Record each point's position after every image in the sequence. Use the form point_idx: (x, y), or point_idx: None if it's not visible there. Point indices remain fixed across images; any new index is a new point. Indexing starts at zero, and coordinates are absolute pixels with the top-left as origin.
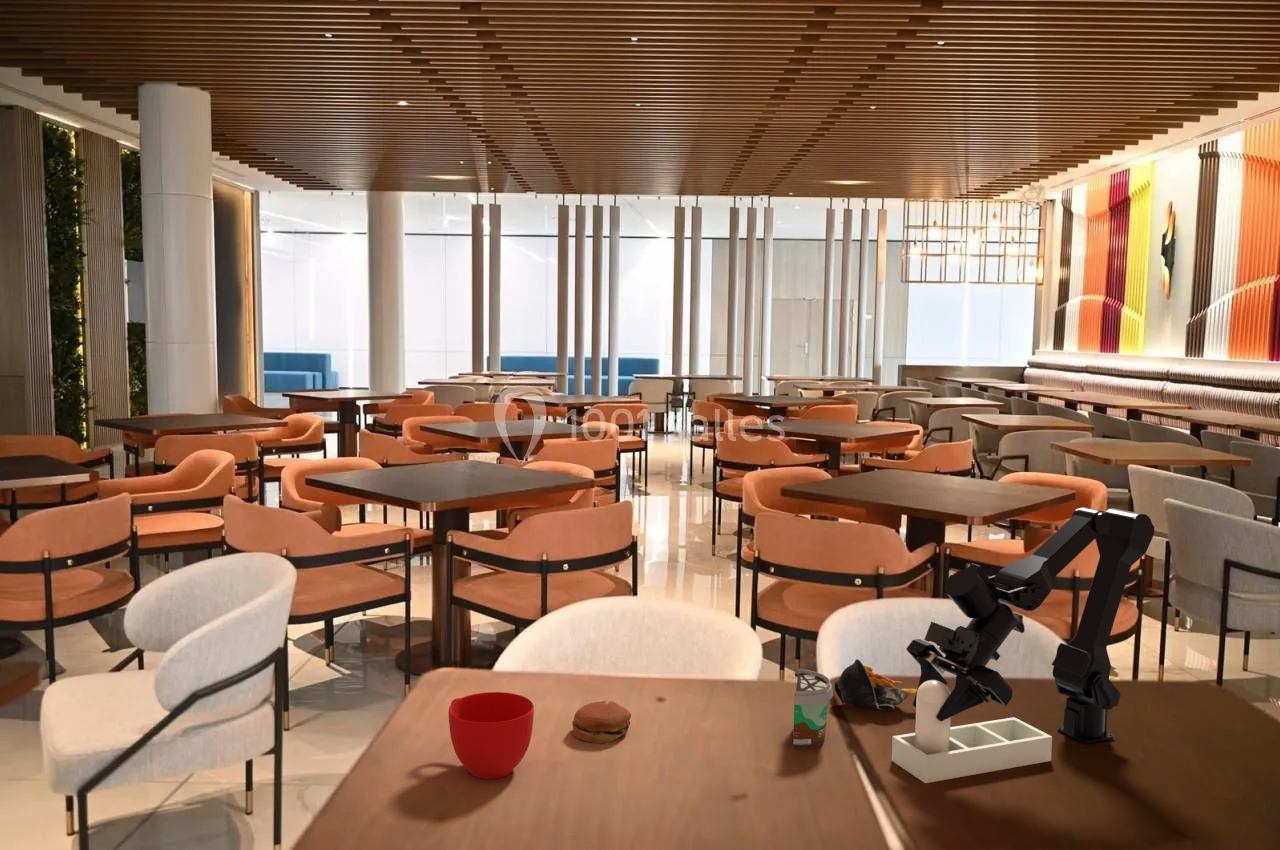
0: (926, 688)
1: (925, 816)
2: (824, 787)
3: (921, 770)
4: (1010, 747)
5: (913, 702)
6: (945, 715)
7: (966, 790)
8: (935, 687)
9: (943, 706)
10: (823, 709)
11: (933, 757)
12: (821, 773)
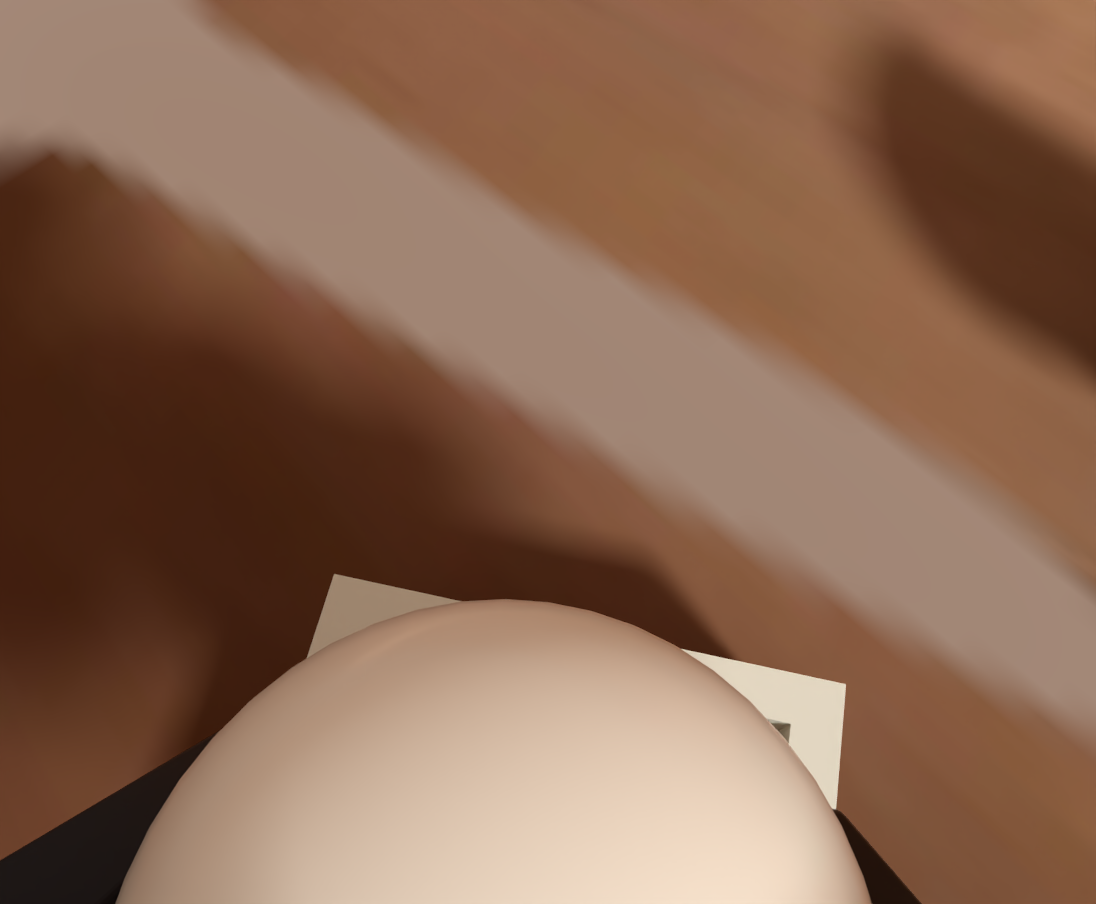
0: (479, 655)
1: (113, 300)
2: (675, 123)
3: None
4: None
5: (854, 831)
6: None
7: None
8: (281, 804)
9: (151, 815)
10: None
11: (309, 651)
12: (827, 211)
